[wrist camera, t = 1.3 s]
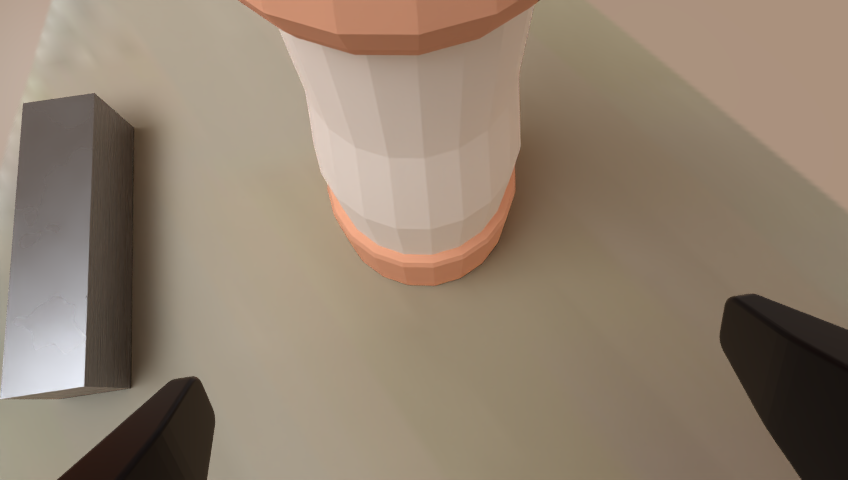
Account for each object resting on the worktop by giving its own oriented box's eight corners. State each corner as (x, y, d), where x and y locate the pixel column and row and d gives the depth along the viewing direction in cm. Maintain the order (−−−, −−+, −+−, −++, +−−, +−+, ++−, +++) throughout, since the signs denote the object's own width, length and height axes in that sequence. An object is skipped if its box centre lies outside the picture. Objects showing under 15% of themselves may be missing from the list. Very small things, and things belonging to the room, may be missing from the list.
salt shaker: (427, 102, 25) (389, -666, 7) (540, 207, 24) (874, -441, 5) (309, 204, 24) (-109, -412, 6) (420, 322, 23) (325, -18, 4)
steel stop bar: (130, 388, 22) (84, 386, 19) (57, 399, 22) (0, 399, 19) (133, 127, 26) (94, 93, 23) (70, 136, 26) (23, 103, 23)
